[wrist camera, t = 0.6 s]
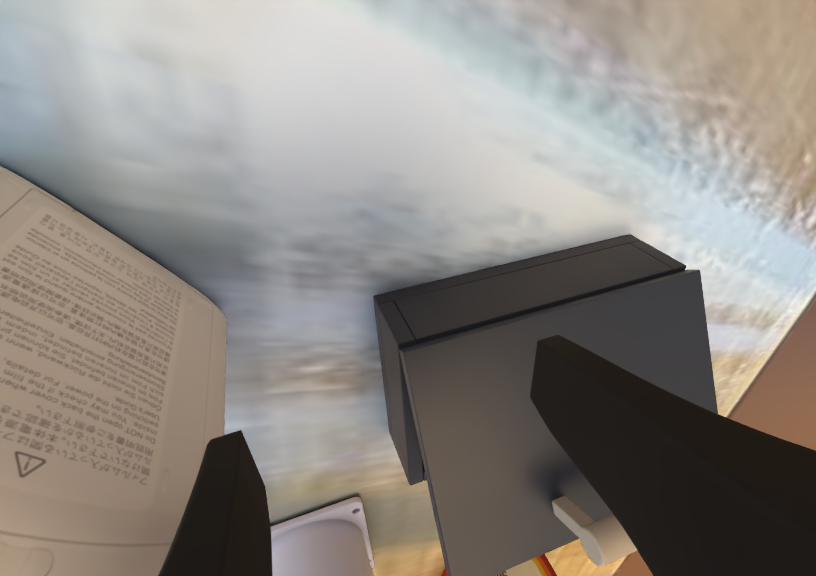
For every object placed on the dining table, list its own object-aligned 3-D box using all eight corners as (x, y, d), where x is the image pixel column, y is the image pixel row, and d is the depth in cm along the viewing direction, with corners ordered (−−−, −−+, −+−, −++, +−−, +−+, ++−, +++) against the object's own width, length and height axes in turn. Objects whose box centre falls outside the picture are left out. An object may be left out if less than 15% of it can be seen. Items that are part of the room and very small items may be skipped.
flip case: (596, 364, 30) (637, 404, 27) (389, 431, 26) (410, 486, 23) (630, 233, 25) (687, 265, 22) (373, 295, 21) (397, 344, 18)
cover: (713, 468, 23) (801, 512, 19) (448, 581, 19) (490, 665, 15) (687, 269, 22) (777, 271, 18) (398, 349, 18) (430, 374, 14)
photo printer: (-130, 222, 13) (-1176, 849, 3) (-41, 123, 13) (-946, 515, 3) (174, 371, 19) (121, 747, 10) (243, 309, 19) (260, 635, 9)
